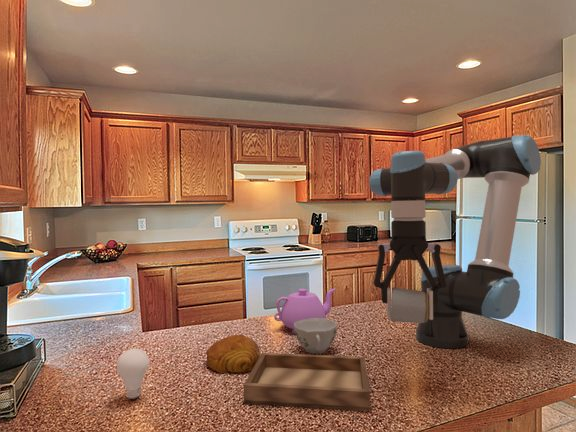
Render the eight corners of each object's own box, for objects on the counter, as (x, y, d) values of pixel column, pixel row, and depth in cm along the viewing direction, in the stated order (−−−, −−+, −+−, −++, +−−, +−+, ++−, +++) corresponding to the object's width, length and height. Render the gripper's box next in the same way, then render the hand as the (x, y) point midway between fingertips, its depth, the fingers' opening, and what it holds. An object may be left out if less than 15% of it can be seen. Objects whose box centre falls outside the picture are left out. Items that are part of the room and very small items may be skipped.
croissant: (256, 358, 113) (255, 330, 114) (263, 373, 98) (263, 340, 99) (205, 361, 110) (206, 333, 111) (205, 377, 95) (205, 343, 96)
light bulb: (123, 392, 88) (122, 344, 88) (153, 390, 89) (152, 343, 88) (112, 407, 81) (111, 355, 81) (144, 405, 82) (143, 354, 82)
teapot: (330, 320, 142) (329, 283, 142) (343, 333, 127) (343, 292, 127) (271, 324, 138) (270, 286, 138) (277, 338, 123) (277, 295, 123)
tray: (364, 372, 97) (364, 357, 96) (369, 411, 78) (369, 392, 78) (262, 368, 100) (261, 352, 100) (243, 403, 82) (243, 385, 82)
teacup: (293, 343, 119) (293, 317, 118) (334, 342, 119) (333, 316, 119) (295, 362, 104) (294, 333, 103) (341, 361, 104) (341, 332, 104)
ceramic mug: (429, 327, 84) (429, 292, 84) (390, 325, 86) (390, 291, 86) (425, 315, 94) (425, 283, 94) (390, 313, 96) (390, 282, 96)
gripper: (452, 218, 90) (453, 313, 91) (360, 219, 93) (361, 312, 94) (462, 219, 83) (462, 323, 84) (361, 220, 86) (363, 321, 87)
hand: (409, 317), depth 89 cm, fingers closed on ceramic mug, 8 cm apart
